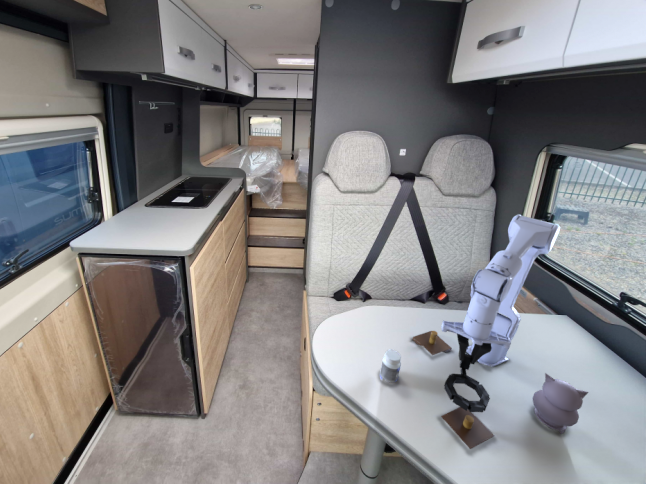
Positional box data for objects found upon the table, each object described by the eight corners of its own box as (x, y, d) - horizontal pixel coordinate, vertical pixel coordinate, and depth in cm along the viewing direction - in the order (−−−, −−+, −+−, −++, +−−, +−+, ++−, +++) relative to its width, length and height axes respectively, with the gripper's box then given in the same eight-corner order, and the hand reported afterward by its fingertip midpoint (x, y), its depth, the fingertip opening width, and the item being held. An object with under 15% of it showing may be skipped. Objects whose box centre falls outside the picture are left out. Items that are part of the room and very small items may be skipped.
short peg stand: (463, 408, 77) (466, 398, 76) (493, 438, 70) (497, 428, 69) (439, 419, 74) (442, 409, 73) (468, 452, 67) (473, 442, 66)
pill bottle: (398, 387, 82) (403, 363, 79) (380, 383, 83) (384, 360, 80) (396, 372, 86) (401, 349, 83) (378, 369, 87) (383, 346, 84)
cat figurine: (525, 420, 75) (542, 385, 70) (528, 398, 80) (543, 364, 76) (571, 445, 70) (592, 408, 65) (570, 420, 75) (590, 384, 71)
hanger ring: (491, 419, 68) (499, 401, 66) (445, 403, 71) (451, 386, 69) (482, 376, 79) (488, 360, 77) (442, 364, 82) (447, 348, 80)
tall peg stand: (430, 333, 101) (434, 321, 100) (451, 351, 95) (454, 338, 93) (412, 339, 98) (415, 327, 97) (431, 358, 92) (435, 345, 90)
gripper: (448, 318, 72) (436, 361, 77) (520, 336, 67) (502, 382, 72) (446, 301, 78) (435, 342, 83) (512, 317, 74) (496, 360, 79)
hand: (466, 359), depth 78 cm, fingers closed on hanger ring
